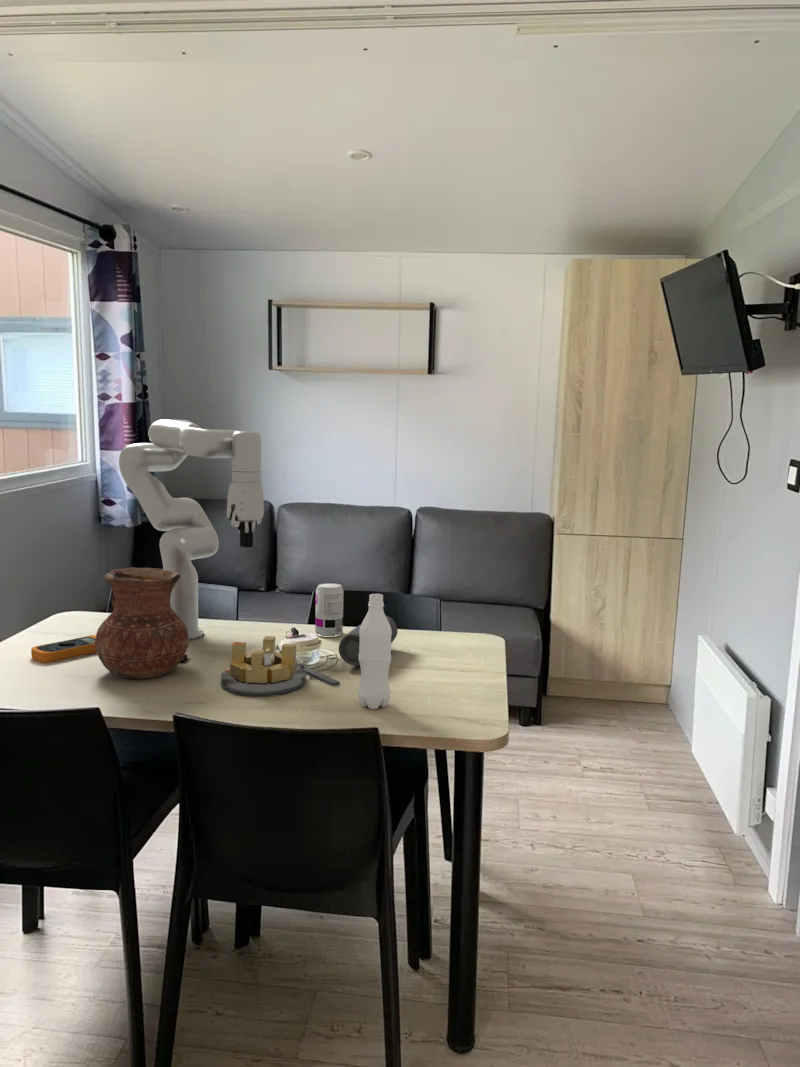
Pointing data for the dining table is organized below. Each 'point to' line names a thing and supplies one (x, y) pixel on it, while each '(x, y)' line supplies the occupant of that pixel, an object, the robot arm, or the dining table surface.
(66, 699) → the dining table surface
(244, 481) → the robot arm
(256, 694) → the housing
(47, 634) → the dining table surface
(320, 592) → the supplement can
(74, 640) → the multimeter
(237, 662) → the ring nut
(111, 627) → the clay pot
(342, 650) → the bluetooth speaker
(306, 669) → the pin spanner
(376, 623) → the water bottle
